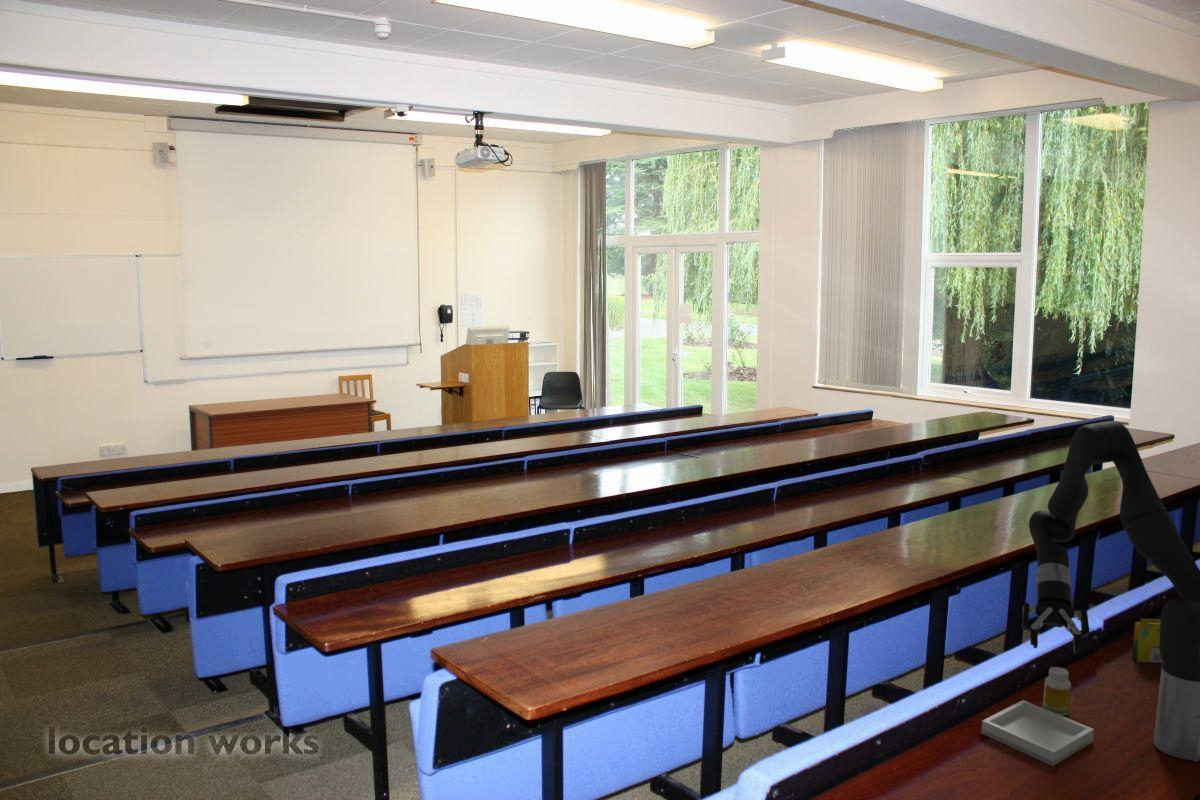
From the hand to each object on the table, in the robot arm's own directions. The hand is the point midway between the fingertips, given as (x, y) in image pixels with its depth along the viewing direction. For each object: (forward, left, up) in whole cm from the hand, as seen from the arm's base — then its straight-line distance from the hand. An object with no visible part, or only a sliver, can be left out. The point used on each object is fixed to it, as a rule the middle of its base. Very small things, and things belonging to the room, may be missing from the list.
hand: (1055, 649), depth 221 cm
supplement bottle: (-4, +6, -12) cm, 14 cm away
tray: (-8, +21, -12) cm, 26 cm away
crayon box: (-4, -39, -12) cm, 41 cm away
